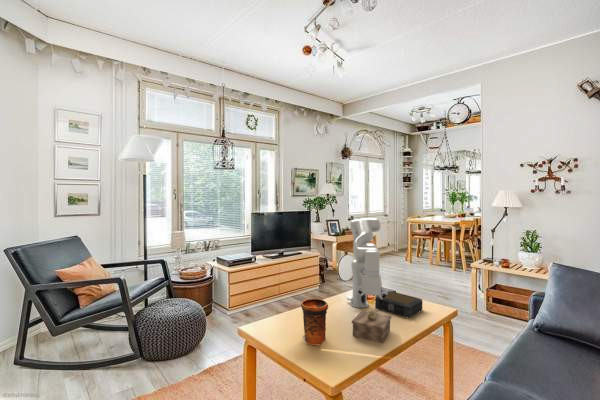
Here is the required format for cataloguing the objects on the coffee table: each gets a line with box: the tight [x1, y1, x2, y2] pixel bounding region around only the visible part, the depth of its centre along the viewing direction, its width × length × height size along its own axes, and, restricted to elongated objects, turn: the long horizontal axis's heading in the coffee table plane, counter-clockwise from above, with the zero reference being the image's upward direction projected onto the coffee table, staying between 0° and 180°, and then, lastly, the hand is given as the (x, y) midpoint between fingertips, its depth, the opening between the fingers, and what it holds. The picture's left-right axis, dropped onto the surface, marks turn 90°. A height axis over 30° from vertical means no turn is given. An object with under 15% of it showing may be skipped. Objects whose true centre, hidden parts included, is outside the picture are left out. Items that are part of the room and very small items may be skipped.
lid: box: [351, 309, 392, 330], centre depth 167 cm, size 17×17×5 cm
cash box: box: [374, 290, 423, 319], centre depth 204 cm, size 25×20×8 cm
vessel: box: [300, 298, 329, 347], centre depth 161 cm, size 14×14×20 cm
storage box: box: [352, 320, 391, 344], centre depth 167 cm, size 16×16×8 cm
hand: (372, 304), depth 166 cm, fingers open, 9 cm apart
